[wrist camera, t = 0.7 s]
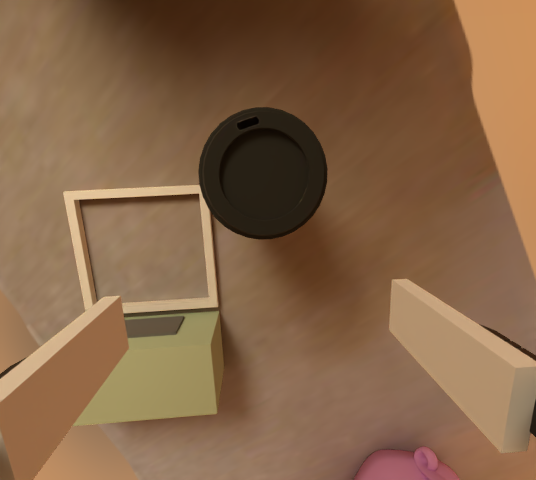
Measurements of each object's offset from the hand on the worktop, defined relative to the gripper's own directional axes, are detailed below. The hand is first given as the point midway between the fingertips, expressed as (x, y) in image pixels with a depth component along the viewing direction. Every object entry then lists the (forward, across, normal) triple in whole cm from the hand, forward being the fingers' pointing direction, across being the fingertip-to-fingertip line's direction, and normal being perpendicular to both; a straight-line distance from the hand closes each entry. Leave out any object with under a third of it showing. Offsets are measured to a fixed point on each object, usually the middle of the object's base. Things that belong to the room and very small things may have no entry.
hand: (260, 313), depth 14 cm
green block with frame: (+22, -14, -7) cm, 27 cm away
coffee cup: (+23, +1, +6) cm, 24 cm away
